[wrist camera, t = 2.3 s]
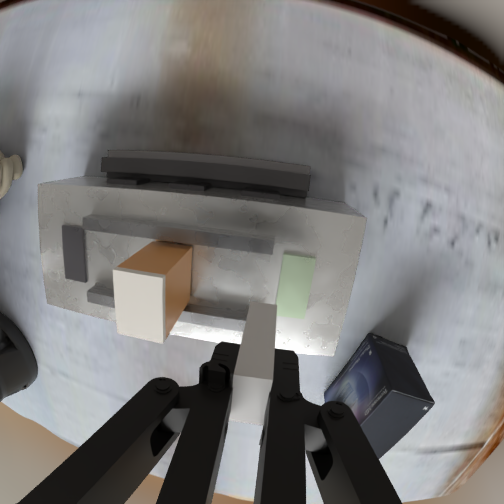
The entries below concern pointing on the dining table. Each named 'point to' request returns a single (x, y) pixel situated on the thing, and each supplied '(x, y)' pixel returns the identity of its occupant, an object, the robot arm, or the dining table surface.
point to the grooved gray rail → (209, 170)
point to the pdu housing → (206, 253)
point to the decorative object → (9, 172)
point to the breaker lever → (152, 290)
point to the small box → (382, 392)
